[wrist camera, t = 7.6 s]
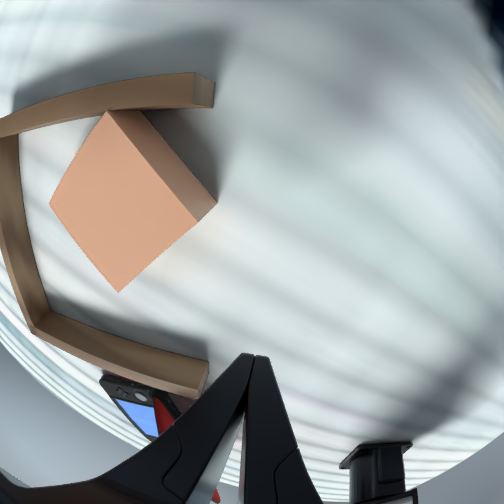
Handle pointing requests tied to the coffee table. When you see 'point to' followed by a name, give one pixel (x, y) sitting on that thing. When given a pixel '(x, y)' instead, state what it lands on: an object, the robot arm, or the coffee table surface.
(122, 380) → the handheld game console
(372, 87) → the coffee table surface
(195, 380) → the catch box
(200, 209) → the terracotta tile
